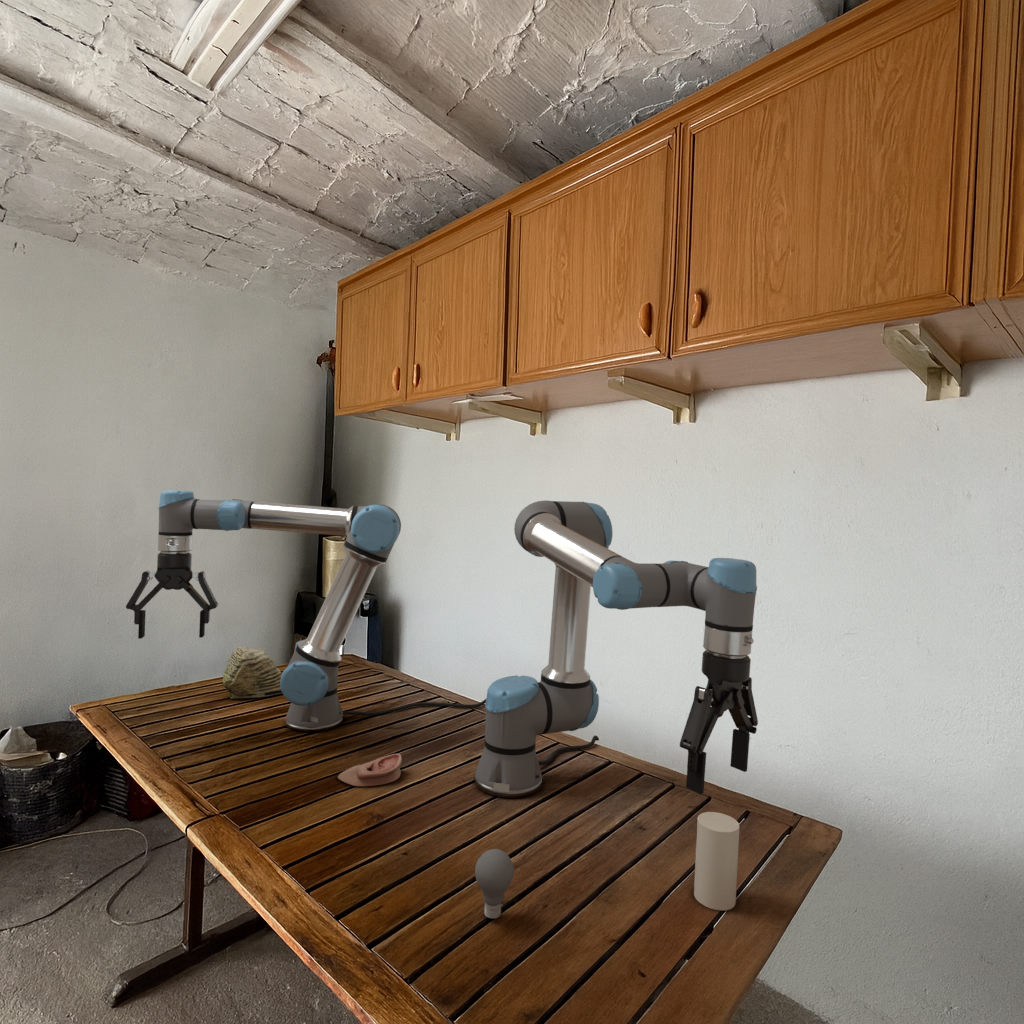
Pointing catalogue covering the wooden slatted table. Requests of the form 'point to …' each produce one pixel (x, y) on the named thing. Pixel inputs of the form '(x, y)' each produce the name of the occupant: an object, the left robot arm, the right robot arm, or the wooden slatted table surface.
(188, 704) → the wooden slatted table surface
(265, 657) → the fossil
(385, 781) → the anatomical model
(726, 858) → the cylinder
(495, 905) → the light bulb
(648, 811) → the wooden slatted table surface
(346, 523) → the left robot arm
